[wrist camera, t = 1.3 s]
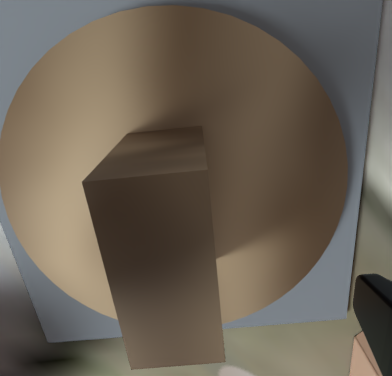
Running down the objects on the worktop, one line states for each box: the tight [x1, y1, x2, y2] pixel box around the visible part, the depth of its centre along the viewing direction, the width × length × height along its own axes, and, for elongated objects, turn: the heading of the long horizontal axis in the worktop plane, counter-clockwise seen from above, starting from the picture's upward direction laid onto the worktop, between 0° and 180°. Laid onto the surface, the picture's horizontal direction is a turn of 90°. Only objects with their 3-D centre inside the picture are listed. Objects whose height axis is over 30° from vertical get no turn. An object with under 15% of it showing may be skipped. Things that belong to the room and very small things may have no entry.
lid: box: [0, 5, 348, 370], centre depth 10 cm, size 14×14×6 cm
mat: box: [0, 0, 383, 343], centre depth 13 cm, size 16×16×1 cm
